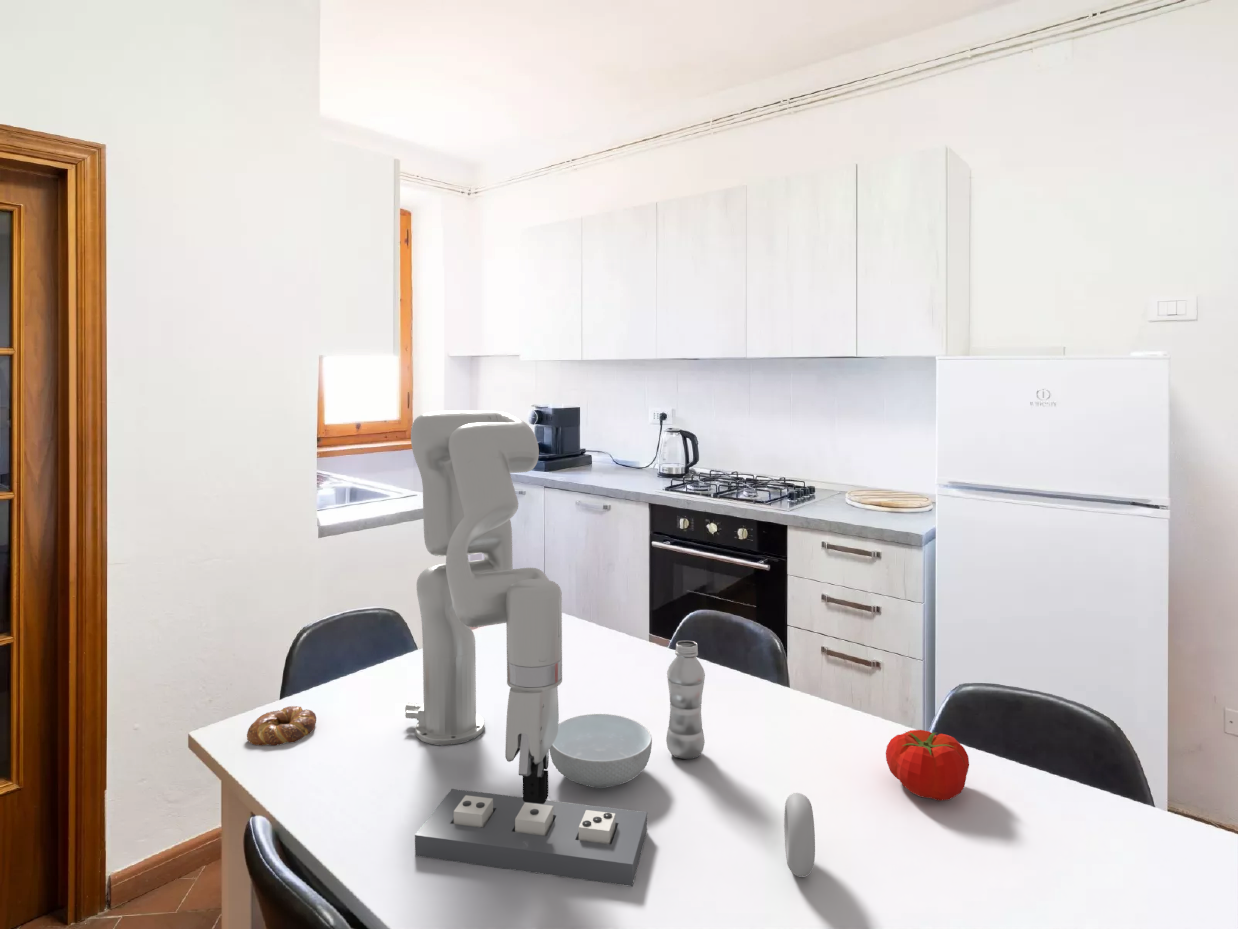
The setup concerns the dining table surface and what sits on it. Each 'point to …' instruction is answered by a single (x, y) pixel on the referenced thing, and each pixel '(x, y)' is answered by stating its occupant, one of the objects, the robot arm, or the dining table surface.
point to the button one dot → (534, 819)
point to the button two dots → (473, 811)
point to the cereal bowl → (601, 749)
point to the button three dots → (597, 827)
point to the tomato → (928, 763)
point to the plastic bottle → (685, 702)
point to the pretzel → (282, 726)
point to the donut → (799, 834)
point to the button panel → (535, 840)
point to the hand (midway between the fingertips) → (535, 799)
